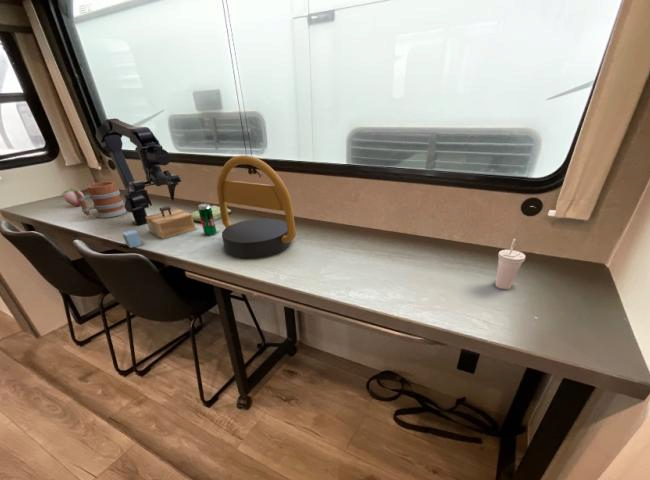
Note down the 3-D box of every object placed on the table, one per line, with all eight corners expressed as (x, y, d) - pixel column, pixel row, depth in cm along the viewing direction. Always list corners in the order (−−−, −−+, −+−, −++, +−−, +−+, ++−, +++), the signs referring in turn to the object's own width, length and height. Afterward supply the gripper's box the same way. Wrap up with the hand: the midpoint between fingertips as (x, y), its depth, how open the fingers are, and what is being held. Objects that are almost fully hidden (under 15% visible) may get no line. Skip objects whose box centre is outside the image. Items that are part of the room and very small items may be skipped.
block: (126, 245, 132) (122, 232, 129) (138, 241, 134) (133, 229, 132) (130, 248, 129) (125, 235, 126) (142, 244, 132) (137, 232, 129)
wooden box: (150, 231, 144) (145, 218, 141) (182, 222, 152) (178, 210, 149) (162, 239, 136) (158, 225, 132) (195, 229, 144) (192, 216, 141)
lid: (145, 218, 141) (141, 208, 139) (177, 209, 150) (175, 200, 147) (158, 225, 132) (154, 215, 130) (192, 216, 141) (189, 206, 138)
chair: (246, 227, 142) (232, 148, 125) (314, 241, 126) (308, 151, 109) (201, 248, 125) (178, 159, 108) (274, 267, 109) (260, 166, 92)
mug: (132, 212, 170) (121, 182, 162) (91, 223, 158) (77, 191, 150) (121, 208, 178) (110, 179, 170) (81, 218, 166) (68, 187, 158)
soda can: (213, 236, 136) (206, 207, 129) (202, 235, 137) (194, 206, 130) (218, 231, 140) (212, 203, 134) (208, 231, 141) (201, 203, 135)
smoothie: (486, 281, 95) (497, 235, 87) (507, 279, 95) (521, 233, 88) (498, 292, 90) (511, 244, 82) (520, 290, 90) (536, 242, 82)
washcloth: (233, 213, 161) (231, 206, 159) (205, 224, 149) (203, 217, 147) (214, 209, 167) (212, 203, 165) (186, 220, 155) (184, 213, 153)
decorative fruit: (85, 202, 191) (78, 185, 185) (89, 205, 185) (81, 187, 180) (67, 206, 186) (58, 188, 180) (69, 209, 180) (61, 190, 175)
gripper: (132, 170, 120) (146, 212, 128) (181, 161, 130) (191, 201, 138) (122, 166, 126) (136, 207, 135) (170, 159, 137) (180, 196, 145)
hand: (162, 203), depth 138 cm, fingers open, 9 cm apart
